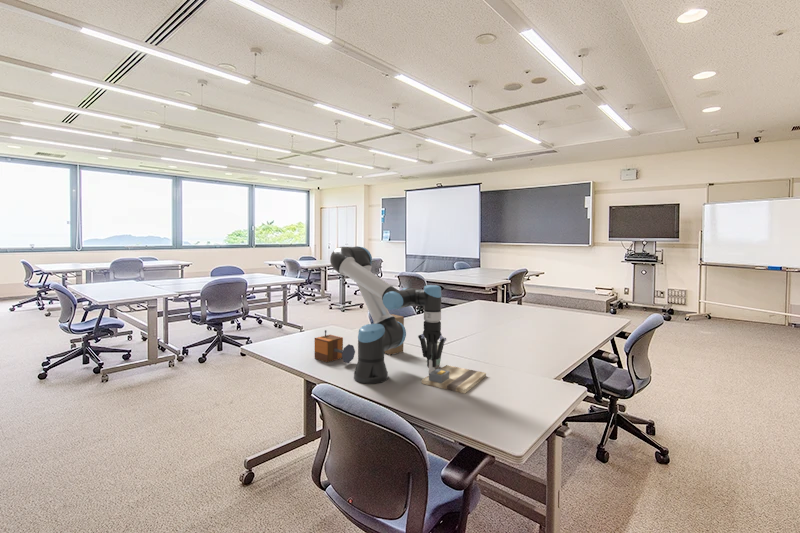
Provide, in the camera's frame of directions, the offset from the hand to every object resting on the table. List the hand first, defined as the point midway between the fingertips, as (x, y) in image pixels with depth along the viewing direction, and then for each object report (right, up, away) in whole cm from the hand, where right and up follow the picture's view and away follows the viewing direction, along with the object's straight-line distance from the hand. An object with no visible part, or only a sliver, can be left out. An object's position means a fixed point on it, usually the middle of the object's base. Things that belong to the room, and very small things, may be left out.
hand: (431, 373), depth 170 cm
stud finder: (+3, -2, -2) cm, 4 cm away
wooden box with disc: (-47, -1, +29) cm, 55 cm away
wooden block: (-19, -1, +46) cm, 49 cm away
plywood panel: (+11, -3, +2) cm, 11 cm away
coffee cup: (+3, -2, +20) cm, 20 cm away
